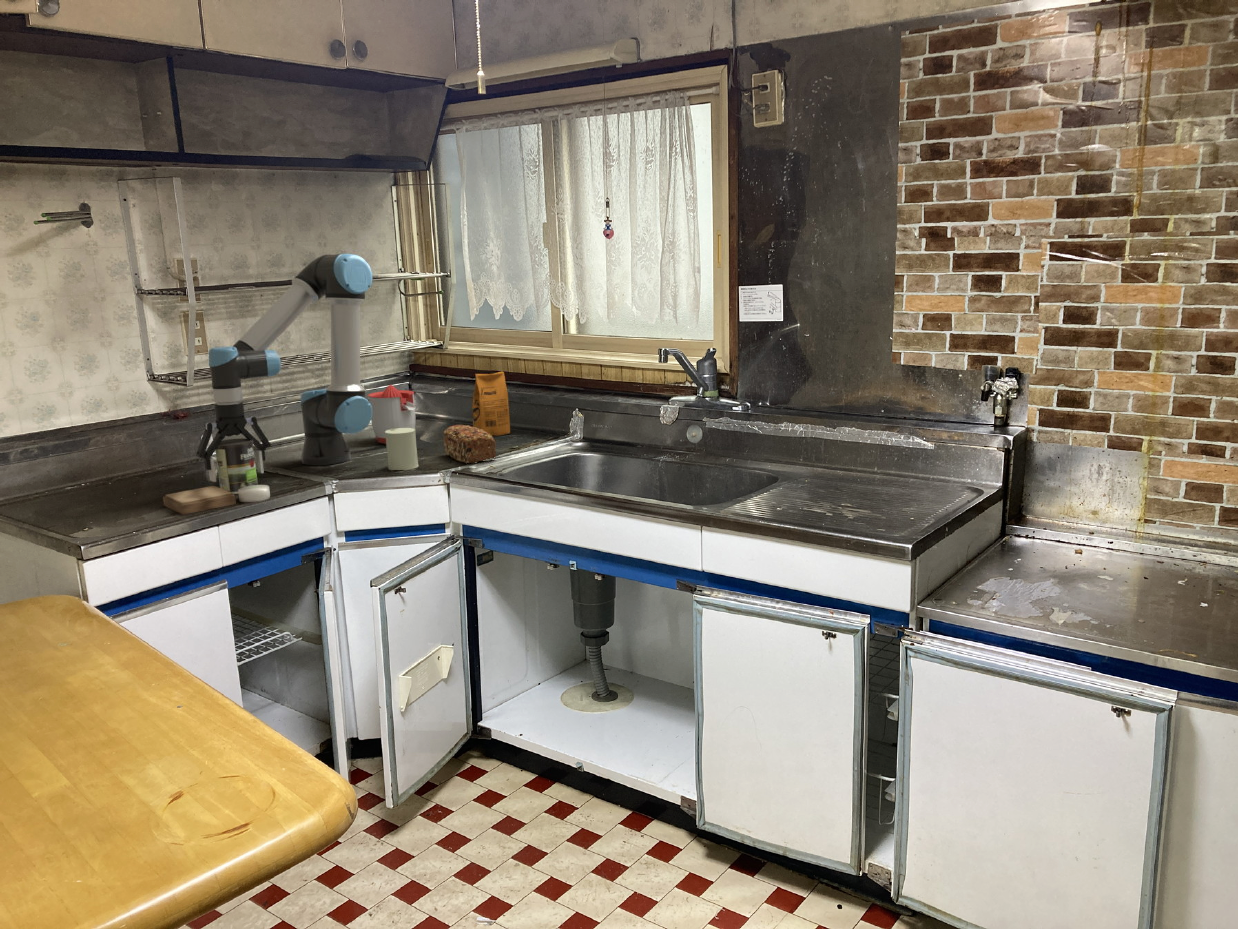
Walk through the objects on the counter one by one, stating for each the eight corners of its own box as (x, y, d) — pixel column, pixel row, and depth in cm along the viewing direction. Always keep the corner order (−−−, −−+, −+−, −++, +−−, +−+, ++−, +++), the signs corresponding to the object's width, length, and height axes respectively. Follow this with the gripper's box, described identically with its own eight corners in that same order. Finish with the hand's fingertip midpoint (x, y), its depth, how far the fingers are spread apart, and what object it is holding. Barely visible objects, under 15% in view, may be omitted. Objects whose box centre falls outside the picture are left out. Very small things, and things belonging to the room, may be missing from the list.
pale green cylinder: (402, 463, 304) (399, 425, 301) (424, 465, 299) (421, 427, 297) (381, 469, 296) (378, 430, 294) (404, 471, 292) (400, 432, 289)
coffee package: (471, 433, 348) (467, 372, 343) (504, 430, 353) (500, 369, 348) (479, 438, 339) (474, 375, 334) (512, 434, 344) (509, 372, 339)
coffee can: (265, 485, 280) (260, 438, 277) (245, 495, 270) (239, 445, 267) (233, 485, 282) (227, 437, 279) (212, 494, 272) (206, 445, 269)
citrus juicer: (399, 447, 327) (394, 389, 323) (362, 444, 336) (357, 386, 332) (431, 439, 340) (426, 382, 336) (395, 435, 349) (390, 380, 345)
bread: (443, 455, 313) (441, 425, 311) (474, 451, 319) (472, 421, 316) (466, 465, 298) (464, 433, 295) (498, 460, 303) (496, 429, 301)
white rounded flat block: (263, 493, 272) (261, 483, 271) (275, 498, 266) (273, 488, 265) (234, 499, 267) (233, 488, 266) (246, 504, 261) (245, 493, 260)
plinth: (216, 495, 271) (214, 485, 270) (236, 503, 261) (234, 493, 260) (164, 505, 262) (162, 494, 261) (182, 514, 252) (180, 503, 251)
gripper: (266, 396, 282) (274, 467, 286) (177, 407, 265) (187, 482, 270) (277, 398, 276) (285, 470, 281) (187, 409, 260) (197, 486, 264)
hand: (237, 476), depth 275 cm, fingers open, 13 cm apart
